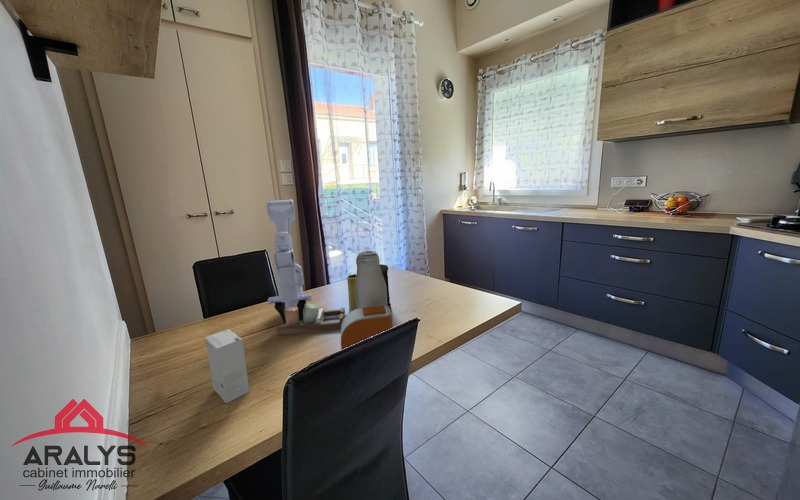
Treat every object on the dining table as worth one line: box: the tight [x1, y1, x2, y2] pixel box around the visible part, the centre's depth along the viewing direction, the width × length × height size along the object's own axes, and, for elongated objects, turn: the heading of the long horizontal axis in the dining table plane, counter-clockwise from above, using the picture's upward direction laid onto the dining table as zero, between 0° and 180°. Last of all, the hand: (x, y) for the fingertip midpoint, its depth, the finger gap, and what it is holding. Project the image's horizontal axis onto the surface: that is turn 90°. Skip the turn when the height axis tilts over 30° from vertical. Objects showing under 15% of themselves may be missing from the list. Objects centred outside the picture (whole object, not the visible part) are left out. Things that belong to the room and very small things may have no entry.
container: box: [380, 263, 392, 311], centre depth 115 cm, size 9×9×18 cm
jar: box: [284, 307, 302, 326], centre depth 107 cm, size 5×5×6 cm
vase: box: [346, 273, 357, 313], centre depth 118 cm, size 6×6×14 cm
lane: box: [276, 307, 346, 336], centre depth 108 cm, size 11×22×4 cm, turn 97°
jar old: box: [301, 303, 320, 325], centre depth 108 cm, size 5×5×6 cm
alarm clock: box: [340, 305, 393, 350], centre depth 88 cm, size 15×8×14 cm, turn 100°
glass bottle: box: [354, 250, 387, 308], centre depth 98 cm, size 10×10×28 cm
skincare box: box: [204, 328, 250, 404], centre depth 74 cm, size 8×6×15 cm
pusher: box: [316, 307, 347, 323], centre depth 109 cm, size 8×14×4 cm, turn 97°
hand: (293, 320), depth 108 cm, fingers closed on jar, 5 cm apart
